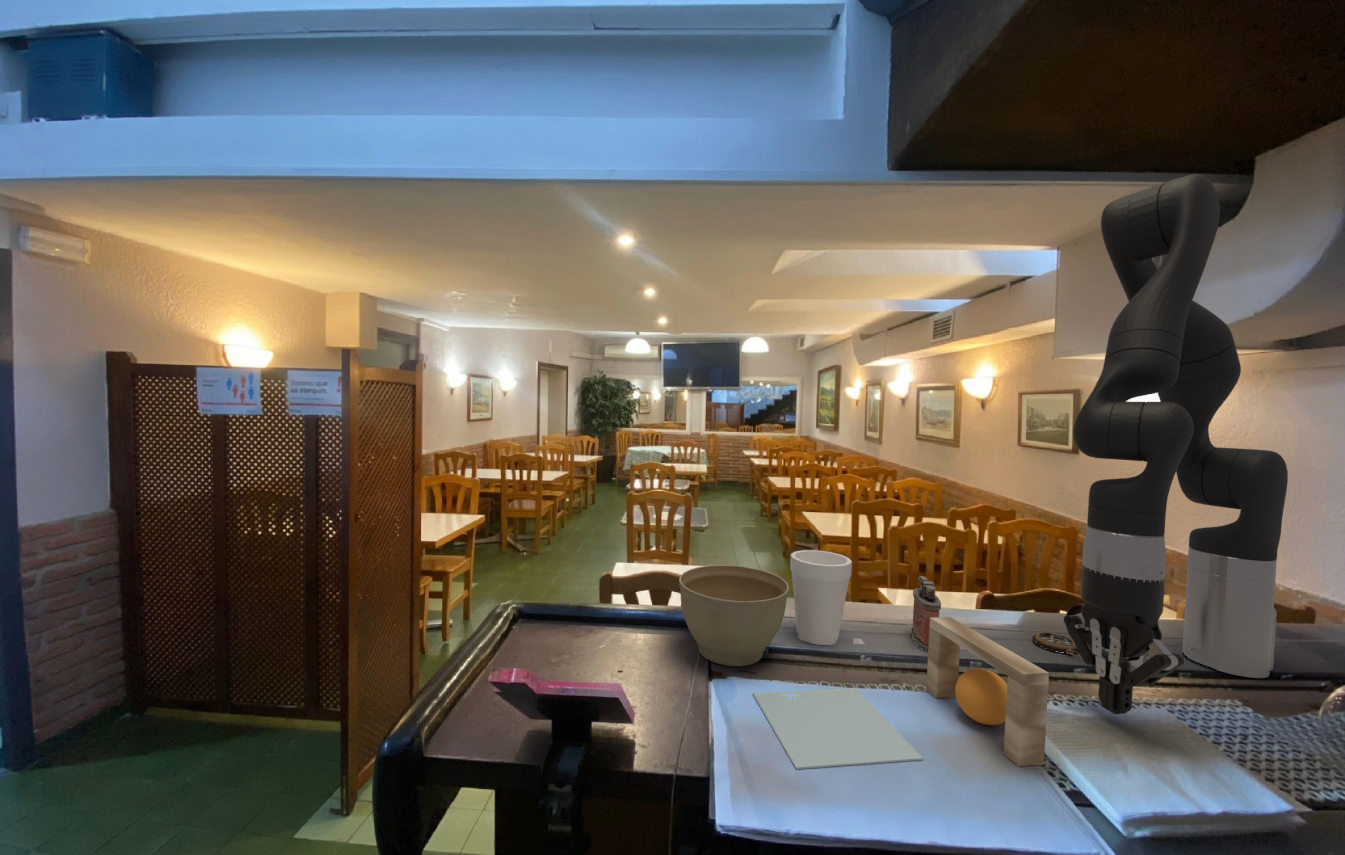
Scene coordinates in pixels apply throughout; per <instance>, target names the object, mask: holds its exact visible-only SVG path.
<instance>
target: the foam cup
mask: <svg viewBox="0 0 1345 855" xmlns="http://www.w3.org/2000/svg"><path fill="white" fill-rule="evenodd" d="M852 563H853V561H852V559H850V558H849V557H847V556H845V555H843V554H840V553H835V552H831V551H826V550H817V549H816V550H815V549H814V550H812V549H811V550H810V549H803V550H798V551H797V550H795V551H794V552H791V553H790V565H789V569H790V571H791V578H792V579H791V580H792V590H793V591H792V593H793V602H794V614H795V615H794V616H795V627H796V634H797V633H798V635H797V638H798V637H800V638H801V639H803V640H804V641H808V642H810V643H814V644H819V645H821V644H822V645H823V644H825V645H826V644H833V643H835V642H836V641H837V639H838V640H839V637H840V636H839V635H840V631H841V626H842V620H843V616H844V609H845V603H846V599H847V592H848V587H849V582H850V578H851V577H852V567H853V566H852ZM801 639H800V640H801ZM804 641H803V642H804ZM837 642H838V641H837ZM837 642H836V643H837Z"/></svg>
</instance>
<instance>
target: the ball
mask: <svg viewBox="0 0 1345 855" xmlns="http://www.w3.org/2000/svg"><path fill="white" fill-rule="evenodd" d="M955 693H956V700H957V704H958V705H959V707H960V708H961V710H962V711H963V712H964V713H965V715H967V716H968V717H969V718H970V719H972V720H973V721H974V722H977V723H979V724H982V725H986V726H997V725H1001V724H1003V723H1005V718H1006V700H1007V682H1006V681H1005V680H1004V679H1003V678H1002V677H1001V676H1000V675H998V674H997V673H995V672H993V671H991V670H988V669H986V668H971V669H968V670H965V671H963V673H962V674H961V675H960V676H958V681H957V683H956V688H955Z"/></svg>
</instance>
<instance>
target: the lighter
mask: <svg viewBox="0 0 1345 855" xmlns="http://www.w3.org/2000/svg"><path fill="white" fill-rule="evenodd" d="M917 583H918V585H919V586H920V588H917V587H916V588H912V595H913V611H912V613H913V615H912V627H911V630H910V635H911V634H912V637H913V639H914V641H915V642H916V644H918V646H920V648H922V649H923V650H924V651H923V652H925V651H928V647H929V627H930V618H936V617H940V610H942V602H941V600H940V598H939V597H938V595H936V587H935V582H934V581H931V580H929V579H928V578H927V577H926V576H924V575H919V576H918V579H917ZM912 637H911V638H912ZM913 639H912V640H913ZM914 641H913V642H914ZM916 644H915V645H916ZM918 646H917V647H918ZM920 648H919V649H920Z"/></svg>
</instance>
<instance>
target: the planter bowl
mask: <svg viewBox="0 0 1345 855" xmlns="http://www.w3.org/2000/svg"><path fill="white" fill-rule="evenodd" d="M678 584H679V590H680V605H681V611H682V615H683V618H684V621H685V623H686V626H687V627H688V630H689V631H690V634H691V635H692V637H693V639H694V640H695V641H696V643H697V646H698V651H699V653H700V655H701V656H703V657H704V659H707V660H708V661H710V662H712V663H715V664H719V665H722V666H727V667H745V666H750V665H754V664H757V663H758V662H759V661H760V660H762V658H763V656H764V653H765V649H766V648H767V647H768V646H769V645H770V644H771V643H772V641H773V640H774V639H775V637H776V635H777V633H778V632H779V630H780V628H781V625H782V622H783V619H784V616H785V613H786V612H785V611H786V606H787V598H788V596H789V590H790V587H789V584H788V582H787V581H786V580H785V579H783V578H782V577H781V576H779V575H777V574H774V573H772V572H769V571H767V570H762V569H760V568H759V569H758V568H753V567H748V566H742V565H732V564H715V565H713V564H712V565H704V566H703V565H702V566H698V567H693V568H690V569H688V570H686V571H684V572H683V573H681V575H680V576H679V579H678Z"/></svg>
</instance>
